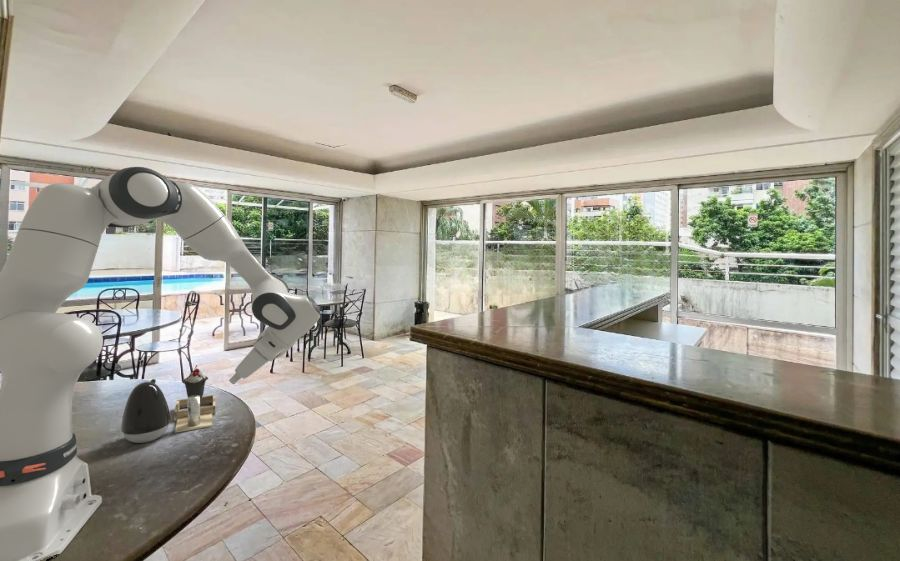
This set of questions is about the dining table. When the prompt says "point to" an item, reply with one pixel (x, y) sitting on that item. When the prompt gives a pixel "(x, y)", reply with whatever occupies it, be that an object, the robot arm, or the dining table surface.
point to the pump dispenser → (145, 413)
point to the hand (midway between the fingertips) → (237, 376)
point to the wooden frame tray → (194, 413)
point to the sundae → (195, 383)
